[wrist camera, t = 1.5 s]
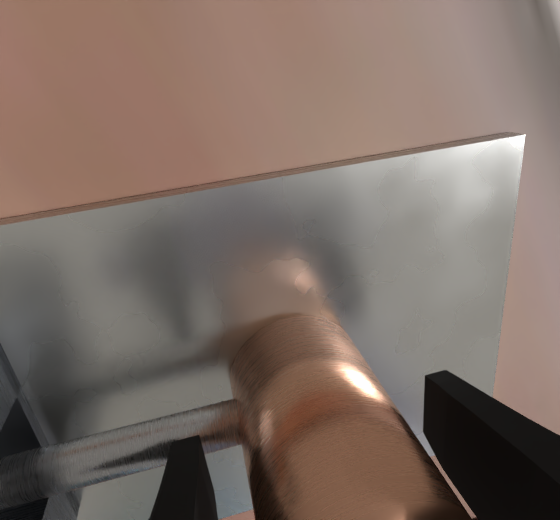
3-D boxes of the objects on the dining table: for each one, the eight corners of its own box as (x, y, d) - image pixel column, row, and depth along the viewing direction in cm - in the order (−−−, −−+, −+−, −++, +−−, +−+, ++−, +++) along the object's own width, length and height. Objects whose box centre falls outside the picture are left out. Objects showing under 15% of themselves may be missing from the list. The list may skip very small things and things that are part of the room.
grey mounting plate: (477, 428, 18) (613, 587, 12) (-146, 609, 14) (-348, 950, 9) (510, 131, 13) (769, 175, 7) (-452, 296, 9) (-1429, 642, 3)
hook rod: (352, 302, 13) (490, 476, 7) (357, 404, 14) (472, 608, 9) (-233, 435, 10) (-698, 847, 5) (-144, 538, 12) (-411, 929, 6)
